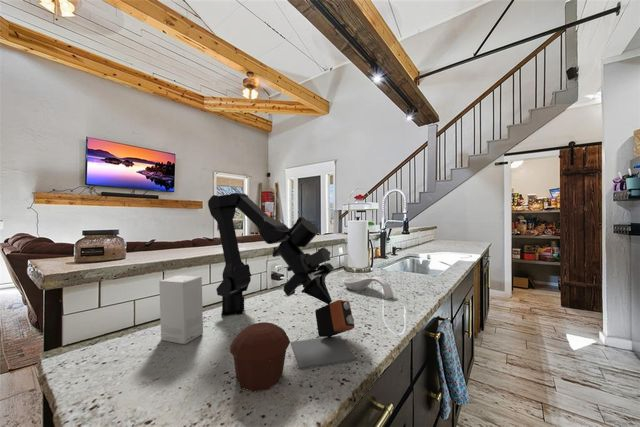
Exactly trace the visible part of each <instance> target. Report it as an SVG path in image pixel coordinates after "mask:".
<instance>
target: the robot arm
mask: <svg viewBox="0 0 640 427" xmlns="http://www.w3.org/2000/svg"><path fill="white" fill-rule="evenodd" d="M207 206H208V210H209V213H210V215H211V217H212V219H214V220H215V221H216V222H217V226H218V231H219V238H220V242H221V247H222V248H221V249H222V252H223V257H224V263H225V266H224V268H223V271H222V275H221V276H222V281H221V282H220V284H219V285H218V286H217V287H216V288H215V289H216V293H217V296H219V297H222V298H221V299H222V301H221V305H222V306H221V315H220V316H231V315H232V316H233V315H243V313H244V312H243V311H244V310H245V295H244V294H243V293H244V292H246V291H248V288H249V285H250V283H251V277H252V273H251V270H250V265H249V263H247V264H245V263H244V262H243V261H242V259H241V258H242V257H241V252H240V249H239V244H238V238H237V232H236V229H235V224H234V217H235V214H236V209H238V210H239V211H241V212H242V213H243V214H244V216H246V218H247V219H248V220H249V221H250V222H252V223H253V224H254V225H255V226H256V228H257V231H258V234H259V235H260V237H261V238H262V240H263V241H264V243H266V244H268V245H274V244H278V246H275V247H273V248H272V250H273V251H272V257H273V258H276V257H281V258H282V259H283V261H284V262H285V264H286V265H287V268H286V270H287V271H288V272H292V273H293V275H292V276H291V277H290V278H288V280H287V282H285V283H284V285H283V293H285V295H286V296H287V298H288V297H291V296H293V295H295V293H296V289H298V287H300V286H302V288H303V289H302V290H301V291H300V292H301V293H302V294H306V295H309V296H311V297H313V298H315V299H317V300H319V301H320V302H323V303H325V304H326V305H328V304H330V303H332V302H333V301H332V300H333V299H332V298H331V296H330V293H329V290H328V286H327V284H326V277H327V276H328V275H329V274H331V272H332V271H333V270H334V269H335V267H334V266H333V265H332V264H331V263H329V261H331V254H332V253H331V251H329V250H328V248H327V247H320V248H319V249H317V251H316V252H314V253H312V254H310V253H309V252H306V253H305V252H304V251H303V250H302V249H301V248H306V247H307V246H308V245H309V244H310V243H311V242H312V240H313V239H314V238H315V237H316V236H317V235H318V234H319V229H318V227H317V226H316V224H314V223H312V222H311V221H310V220H307V219H306V218H305V217H304V216H299V217H298V218H297V220H296V221H295V223H294V224H293V226H292V227H291V228H290V227H288V226H287V225H286V224H284V223H283V222H281V221H280V220H277V219H275V218H273V217H271V216H269V215H268V214H267V213H266V212H265V211H264V210H263V209H261V208H260V206H258V205H257V204H256V203H255V202H254V201H253V200H252V199H251V198H250V197H249V195H248V194H246V193H243V192H242V193H241V192H234V193H230V194H223V195H222V194H221V195H219V194H213V195H212V196H210V198H209V199H208V202H207Z"/></svg>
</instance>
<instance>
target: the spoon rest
mask: <svg viewBox="0 0 640 427" xmlns="http://www.w3.org/2000/svg"><path fill="white" fill-rule="evenodd" d="M372 282H377V283H379V284H380V286H382V289H383V294H384V296H383V297H384V300H389V299H391V298H393V297H394V292H393V289H392V286H390V284H389V282H387V281H386V280H385V279H384V278H383V277H380V276H372V277H369V278H368V277H349V278H345V279H343V280H342V283H343V285H344V286H345V287H347V289H350V290H351V289H352V291H356V290H357V291H364V290H365V289H366V288H368V286H369V285H370V284H372Z"/></svg>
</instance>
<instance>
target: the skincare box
mask: <svg viewBox="0 0 640 427" xmlns="http://www.w3.org/2000/svg"><path fill="white" fill-rule="evenodd" d="M158 282H159V283H158V284H159V314H160V315H159V316H160V317H159V318H160V341H165V342H171V343H176V344H180V345H187V344H188V343H189V342H191V341H193V340H195V339H196V338H198V337H200V336H201V335H203V334H204V320H203V319H204V318H203V315H204V314H203V277H202V276H197V275H181V274H179V275H174V276H171V277H169V278H168V277H167V278H165V279H162V280H159V281H158Z"/></svg>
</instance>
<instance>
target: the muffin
mask: <svg viewBox="0 0 640 427" xmlns="http://www.w3.org/2000/svg"><path fill="white" fill-rule="evenodd" d="M289 345H291V341H290V338H289V336H288V334H287V332H286V331H285V330H284V329H283V328H282V327H281V326H279V325H277V324H275V323H272V322H264V321H263V322H256V323H253V324H250V325H249V326H246V327H245V328H243V329H242V330H241V331H240V332H239V333H238V334H237V335H236V336H235V337H234V338H233V340H232V343H231V344H230V346H229V348H230V349H229V353H230V354H231V355H232V357H233V362H234V363H233V364H234V371H235V378H236V379H235V380H236V381H237V383H238V382H239V383H238V385H239V384H240V385H239V387H240V389H242V388H245V389H244V390H246V389H248V390H247V391H249V390H250V391H249V392H251V391H252V392H251V393H256V392H260V391H268V390H270V389H271V388H273V387H274V386H275V385H278V384H279V383H280V382H281V381H280V380H281V378H282V375H283V373H284V367H285V360H286V355H287V349H288V348H289ZM255 391H256V392H255Z"/></svg>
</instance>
